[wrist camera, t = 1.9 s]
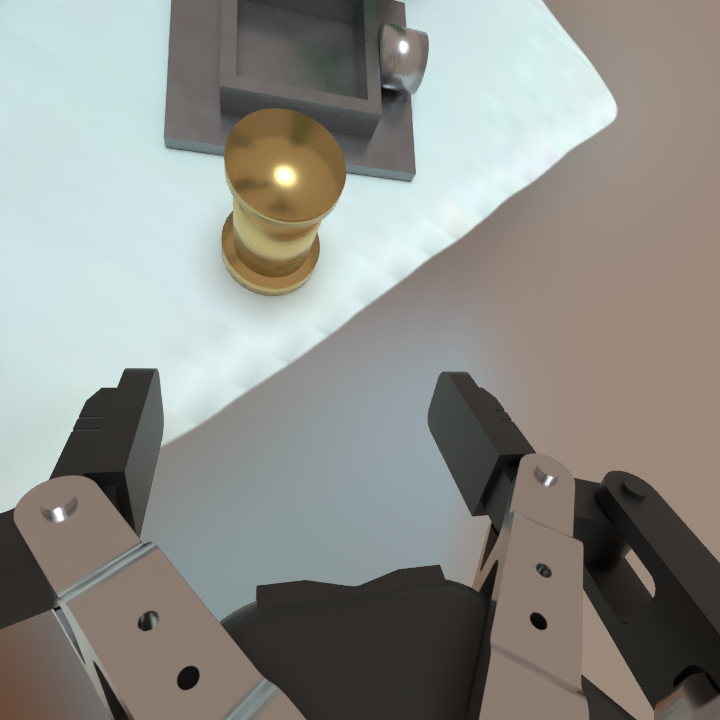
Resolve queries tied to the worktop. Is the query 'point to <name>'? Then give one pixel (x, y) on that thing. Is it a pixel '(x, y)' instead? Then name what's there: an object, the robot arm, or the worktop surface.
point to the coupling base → (297, 74)
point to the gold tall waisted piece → (278, 198)
